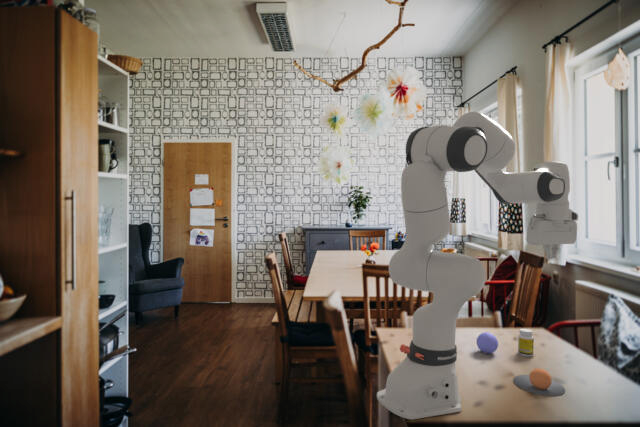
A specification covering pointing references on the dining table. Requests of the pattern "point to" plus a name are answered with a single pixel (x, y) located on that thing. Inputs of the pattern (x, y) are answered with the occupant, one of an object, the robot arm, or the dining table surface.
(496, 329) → the dining table surface
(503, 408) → the dining table surface
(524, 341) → the supplement bottle
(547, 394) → the slate disc
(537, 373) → the ball
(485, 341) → the sphere
